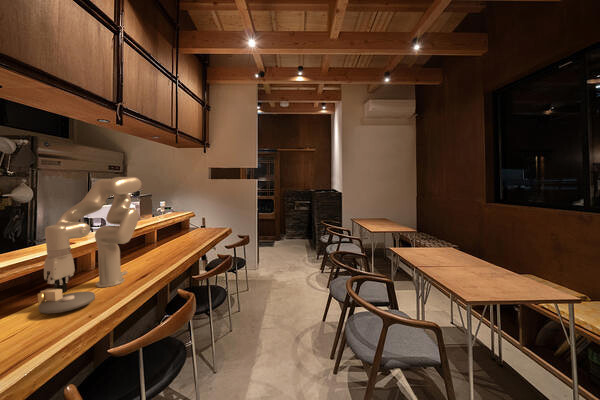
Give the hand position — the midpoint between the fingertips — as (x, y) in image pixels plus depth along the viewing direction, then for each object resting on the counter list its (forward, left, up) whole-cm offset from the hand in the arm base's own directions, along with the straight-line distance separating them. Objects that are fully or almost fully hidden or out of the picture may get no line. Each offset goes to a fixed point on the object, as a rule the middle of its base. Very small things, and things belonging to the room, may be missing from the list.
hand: (62, 292), depth 116 cm
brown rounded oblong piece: (+3, +3, -5) cm, 7 cm away
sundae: (-13, -20, -5) cm, 24 cm away
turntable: (+3, +6, -3) cm, 8 cm away
